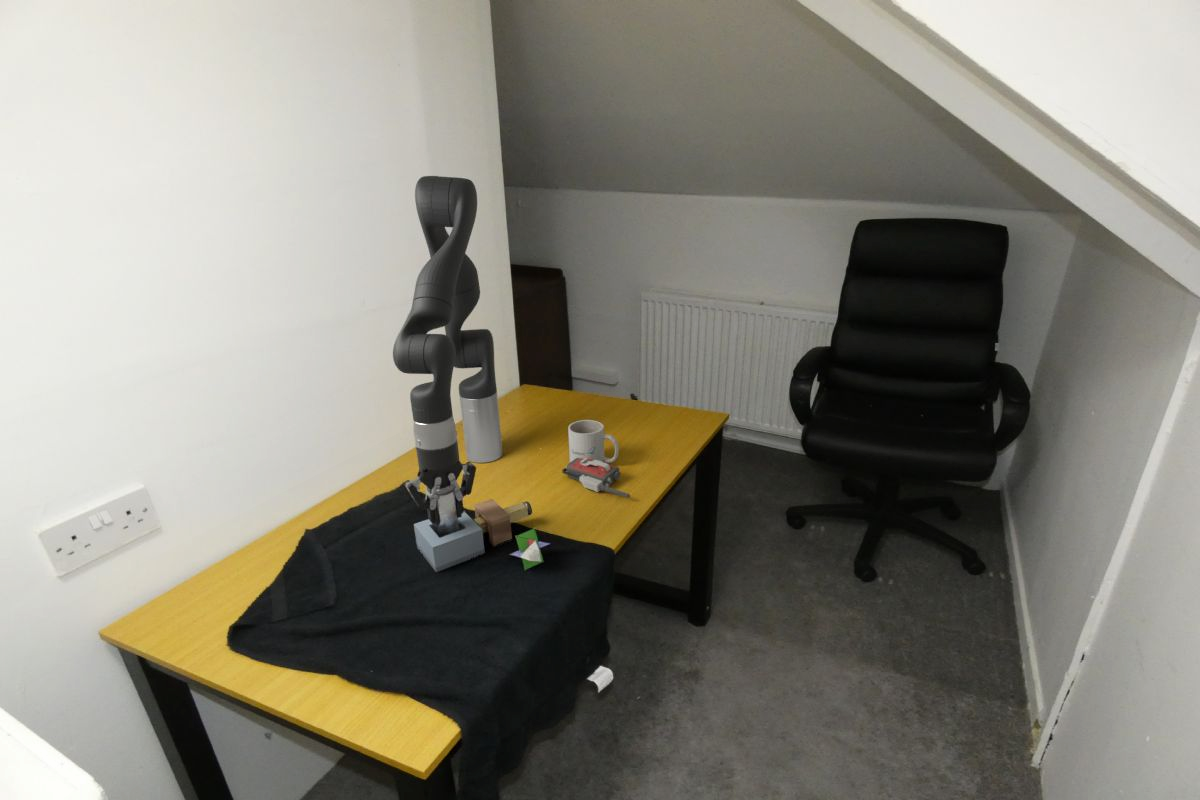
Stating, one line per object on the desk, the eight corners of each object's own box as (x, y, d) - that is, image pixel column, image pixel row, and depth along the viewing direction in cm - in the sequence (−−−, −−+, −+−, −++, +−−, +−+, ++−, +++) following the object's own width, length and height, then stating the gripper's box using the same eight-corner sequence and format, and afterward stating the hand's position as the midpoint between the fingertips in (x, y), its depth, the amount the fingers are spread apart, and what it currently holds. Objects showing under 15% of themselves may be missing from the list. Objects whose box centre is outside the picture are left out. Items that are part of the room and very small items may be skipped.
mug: (563, 467, 162) (561, 430, 158) (581, 453, 169) (579, 417, 165) (607, 477, 156) (606, 439, 152) (623, 463, 163) (623, 426, 159)
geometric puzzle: (500, 548, 126) (510, 530, 120) (530, 535, 130) (541, 517, 124) (517, 580, 124) (528, 564, 118) (548, 566, 127) (560, 550, 122)
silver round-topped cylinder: (433, 537, 129) (425, 483, 125) (456, 528, 132) (449, 475, 127) (442, 548, 125) (435, 493, 121) (466, 539, 128) (459, 485, 124)
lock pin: (474, 529, 133) (473, 517, 132) (525, 511, 140) (524, 498, 138) (480, 536, 131) (479, 523, 130) (532, 517, 137) (531, 504, 136)
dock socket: (417, 547, 131) (413, 524, 129) (463, 531, 136) (461, 508, 134) (436, 572, 123) (432, 547, 121) (484, 553, 128) (482, 529, 126)
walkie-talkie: (556, 480, 155) (626, 504, 144) (554, 463, 154) (626, 486, 143) (578, 463, 162) (648, 485, 151) (577, 448, 160) (647, 469, 149)
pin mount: (477, 529, 137) (474, 504, 135) (494, 522, 139) (491, 498, 137) (494, 546, 131) (491, 521, 128) (511, 539, 133) (509, 515, 130)
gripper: (463, 423, 127) (472, 500, 134) (391, 442, 120) (404, 523, 126) (480, 435, 122) (488, 516, 128) (405, 457, 114) (418, 541, 121)
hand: (446, 519), depth 127 cm, fingers closed on silver round-topped cylinder, 4 cm apart
